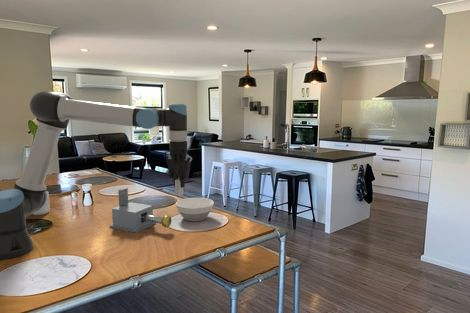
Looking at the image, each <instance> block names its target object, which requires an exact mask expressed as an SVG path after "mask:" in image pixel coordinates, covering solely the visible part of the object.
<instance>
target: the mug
mask: <svg viewBox="0 0 470 313" xmlns="http://www.w3.org/2000/svg"><path fill="white" fill-rule="evenodd" d="M45 192H46V194H47V200H46V202H45V204H44V205H43V206H42V207H41V209H39V210H38V211H36V212H34V213H32V214H31V215H33V216H43V215H47V214H48V213H49V212H50V210H51V208H50V207H51V206H50V195H49V191H48V190H46V191H45Z"/></svg>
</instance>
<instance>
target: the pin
mask: <svg viewBox="0 0 470 313" xmlns="http://www.w3.org/2000/svg"><path fill="white" fill-rule="evenodd" d="M141 220H143V221H149V222H154V223H156V224H161V225H162V227H163V228H170V226H171V224H172V216H170V215H164V216H159V215H158V216H157V215H147V214H141Z"/></svg>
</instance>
